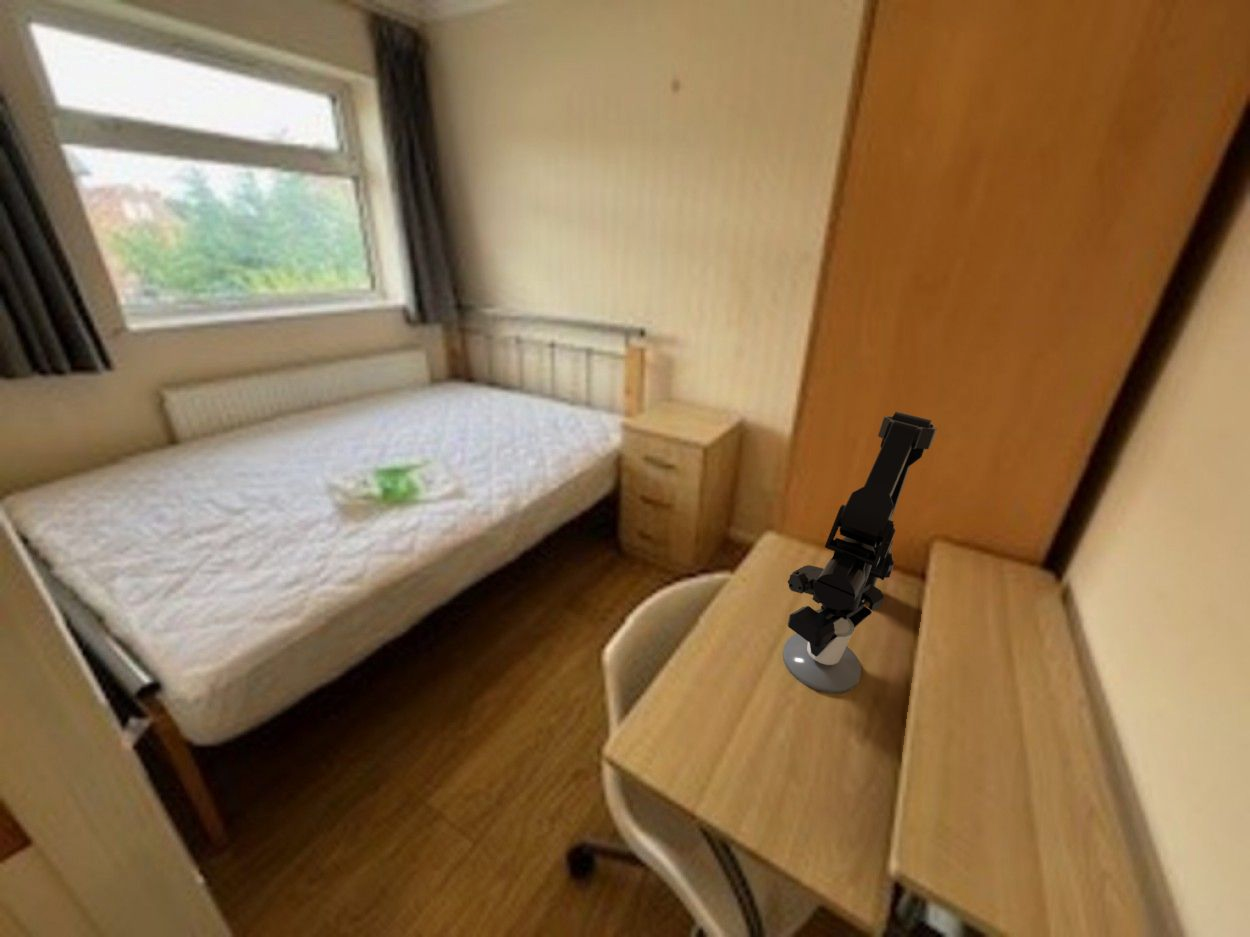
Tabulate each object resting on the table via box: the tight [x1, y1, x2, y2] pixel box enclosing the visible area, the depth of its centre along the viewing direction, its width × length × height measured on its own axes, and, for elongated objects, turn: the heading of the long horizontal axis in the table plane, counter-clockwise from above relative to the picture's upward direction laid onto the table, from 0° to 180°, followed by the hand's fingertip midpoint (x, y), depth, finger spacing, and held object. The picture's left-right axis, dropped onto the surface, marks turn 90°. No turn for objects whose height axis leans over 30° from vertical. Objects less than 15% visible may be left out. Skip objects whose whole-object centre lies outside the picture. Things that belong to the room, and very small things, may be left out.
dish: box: [782, 633, 862, 695], centre depth 96 cm, size 13×13×1 cm
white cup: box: [807, 609, 855, 665], centre depth 94 cm, size 7×7×7 cm
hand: (825, 646), depth 95 cm, fingers closed on white cup, 6 cm apart
